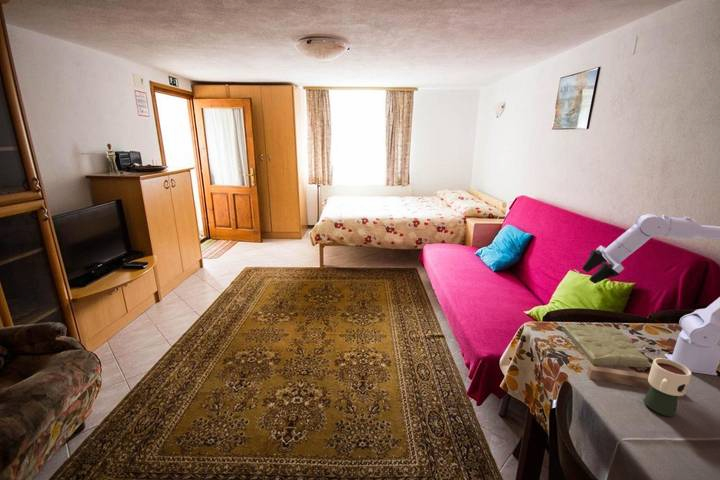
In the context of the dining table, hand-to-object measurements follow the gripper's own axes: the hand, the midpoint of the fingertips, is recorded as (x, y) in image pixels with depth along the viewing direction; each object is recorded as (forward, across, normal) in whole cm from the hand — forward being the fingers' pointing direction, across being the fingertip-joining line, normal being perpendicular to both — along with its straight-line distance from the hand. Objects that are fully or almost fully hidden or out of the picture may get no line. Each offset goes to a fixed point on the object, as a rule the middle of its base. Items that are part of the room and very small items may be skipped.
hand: (588, 275), depth 109 cm
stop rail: (+13, +24, +19) cm, 33 cm away
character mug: (+11, +33, +20) cm, 40 cm away
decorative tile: (+16, +6, +20) cm, 26 cm away
